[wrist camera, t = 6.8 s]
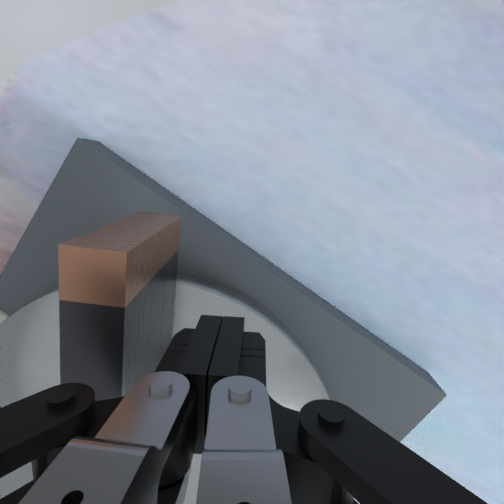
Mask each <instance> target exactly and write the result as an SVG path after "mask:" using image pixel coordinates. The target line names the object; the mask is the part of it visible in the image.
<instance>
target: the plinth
mask: <svg viewBox="0 0 504 504" xmlns="http://www.w3.org/2000/svg"><path fill="white" fill-rule="evenodd" d="M141 211H145V212H153V213H161V214H169V215H177V216H181V226H180V240H179V253H178V267H177V273H181V274H187V275H192V276H196V277H199V278H202V279H205V280H208V281H211V282H215V283H218V284H220V285H222V286H224V287H227V288H229V289H231V290H233V291H235V292H238V293H240V294H242V295H244V296H245V297H247V298H248V299H250V300H252V301H253V302H255V303H256V304H258V305H260V306H261V307H263V308H264V309H266V310H267V311H268V312H269V313H271V314H272V315H273V316H274V317H275V318H277V319H278V320H279V321H280V322H282V323H283V324H284V325H285V326H286V327H287V328H288V329H289V330H290V332H291V333H292V334H293V335H294V336H295V337H296V338H297V339H298V340H299V341H300V342H301V344H302V345H303V347H304V348H305V349H306V351H307V352H308V354H309V355H310V357H311V358H312V359H313V361H314V363H315V365H316V367H317V369H318V371H319V373H320V375H321V377H322V378H323V381H324V384H325V386H326V389H327V392H328V395H329V398H330V400H333V401H337V402H340V403H342V404H344V405H347V406H348V407H350V408H351V409H353V410H354V411H356V412H357V413H359V414H360V415H361V416H363V417H364V418H366V419H367V420H369V421H370V422H371V423H373V424H374V425H376V426H377V427H379V428H380V429H381V430H383V431H384V432H386V433H387V434H389V435H390V436H391V437H393V438H394V439H396V440H397V441H399V442H400V441H401V440H402V439H403V438H404V437H405V436H406V435H407V434H408V433H409V432H410V431H411V430H412V429H413V428H414V427H415V426H416V425H417V424H418V423H419V422H420V421H421V420H422V419H423V418H424V417H425V416H426V415H427V414H428V413H429V412H430V411H431V410H432V409H433V408H434V407H435V406H436V405H437V404H438V403H439V402H440V401H441V400H442V399H443V398H444V397H445V396H446V394H445V392H444V391H443V390H442V389H441V387H440V386H439V385H438V384H437V383H436V381H435V380H434V379H433V378H432V377H431V375H430V374H429V373H428V372H427V371H425V370H424V369H422V368H421V367H419V366H418V365H417V364H415V363H414V362H412V361H411V360H409V359H408V358H407V357H405V356H404V355H402V354H401V353H399V352H398V351H397V350H395V349H394V348H392V347H391V346H389V345H388V344H387V343H385V342H384V341H382V340H381V339H379V338H378V337H377V336H375V335H374V334H372V333H371V332H369V331H368V330H367V329H365V328H364V327H362V326H361V325H359V324H358V323H357V322H355V321H354V320H352V319H351V318H349V317H348V316H347V315H345V314H344V313H342V312H341V311H339V310H338V309H337V308H335V307H334V306H332V305H331V304H329V303H328V302H327V301H325V300H324V299H322V298H321V297H319V296H318V295H317V294H315V293H314V292H312V291H311V290H310V289H308V288H307V287H305V286H304V285H302V284H301V283H300V282H298V281H297V280H295V279H294V278H292V277H291V276H290V275H288V274H287V273H285V272H284V271H282V270H281V269H280V268H278V267H277V266H275V265H274V264H272V263H271V262H270V261H268V260H267V259H265V258H264V257H262V256H261V255H260V254H258V253H257V252H255V251H254V250H252V249H251V248H250V247H248V246H247V245H245V244H244V243H242V242H241V241H240V240H238V239H237V238H235V237H234V236H232V235H231V234H230V233H228V232H227V231H225V230H224V229H222V228H221V227H220V226H218V225H217V224H215V223H214V222H212V221H211V220H210V219H208V218H207V217H205V216H204V215H202V214H201V213H200V212H198V211H197V210H195V209H194V208H192V207H191V206H190V205H188V204H187V203H185V202H184V201H182V200H181V199H180V198H178V197H177V196H175V195H174V194H172V193H171V192H170V191H168V190H167V189H165V188H164V187H162V186H161V185H160V184H158V183H157V182H155V181H154V180H153V179H151V178H150V177H148V176H147V175H145V174H144V173H143V172H141V171H140V170H138V169H137V168H135V167H134V166H133V165H131V164H130V163H128V162H127V161H125V160H124V159H123V158H121V157H120V156H118V155H117V154H115V153H114V152H113V151H111V150H110V149H108V148H107V147H105V146H104V145H103V144H101V143H100V142H98V141H93V140H87V139H80V138H77V140H76V141H75V143H74V145H73V147H72V149H71V150H70V152H69V154H68V156H67V158H66V159H65V161H64V163H63V165H62V166H61V168H60V170H59V172H58V174H57V175H56V177H55V179H54V181H53V183H52V184H51V186H50V188H49V190H48V191H47V193H46V195H45V197H44V199H43V200H42V202H41V204H40V206H39V208H38V209H37V211H36V213H35V215H34V216H33V218H32V220H31V222H30V224H29V225H28V227H27V229H26V231H25V233H24V234H23V236H22V238H21V240H20V241H19V243H18V245H17V247H16V249H15V250H14V252H13V254H12V256H11V258H10V259H9V261H8V263H7V265H6V266H5V268H4V270H3V272H2V274H1V275H0V323H1V322H3V321H4V320H6V319H7V318H8V317H10V316H11V315H13V314H14V313H15V312H17V311H18V310H20V309H21V308H22V307H24V306H26V305H27V304H29V303H31V302H32V301H34V300H36V299H37V298H39V297H41V296H42V295H44V294H46V293H48V292H50V291H52V290H54V289H56V288H58V287H59V262H58V244H60V243H63V242H65V241H68V240H70V239H73V238H75V237H78V236H80V235H83V234H85V233H88V232H90V231H93V230H95V229H98V228H100V227H103V226H105V225H108V224H110V223H113V222H115V221H118V220H121V219H123V218H126V217H128V216H131V215H133V214H136V213H138V212H141Z"/></svg>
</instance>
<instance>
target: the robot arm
mask: <svg viewBox="0 0 504 504" xmlns="http://www.w3.org/2000/svg"><path fill="white" fill-rule="evenodd" d="M244 324H245V317H231V316H224V317H223V316H213V315H201V316H200V319H199V321H198V324H197V326H196V328H195V329H193V328H184V329H182V330H181V331H179V332H178V333H176V334H175V335H174V337H173V338H172V340H171V342H170V345H169V346H168V348H167V350H166V352H165V353H164V355H163V357H162V359H161V361H160V363H159V365H158V366H157V368H156V370H155V372H154V373H150V374H148V375H145V376H143V377H141V378H140V379H139V380H137V381H136V382H135V383H134V384H133V386H132V387H131V389H130V390H129V391H128V393H127V394H126V395H125V396H123V397H119V398H113V399H106V400H99V401H95V392H94V390H93V389H92V387H90V386H88V385H86V384H82V383H65V384H60V385H56V386H53V387H50V388H48V389H45V390H43V391H40V392H38V393H36V394H33V395H31V396H28V397H26V398H23V399H21V400H19V401H16V402H14V403H11V404H9V405H6V406H4V407H2V408H0V478H2V477H3V476H5V475H7V474H9V473H11V472H13V471H15V470H16V469H18V468H20V467H22V466H24V465H26V464H27V463H29V462H31V464H32V472H33V480H32V481H31V482H29V483H27V484H25V485H24V486H22V487H20V488H19V489H17V490H15V491H13V492H12V493H10V494H8V495H6V496H5V497H3V498H1V499H0V504H181V503H182V500H183V497H184V494H185V491H186V488H187V485H188V481H189V468H190V466H191V462H192V458H193V454H202V457H201V466H200V474H199V482H198V491H197V499H196V504H358V503H357V502H356V501H355V500H354V499H353V498H355V499H356V500H357V501H358V502H359V503H360V504H487V503H486V502H485V501H483V500H482V499H480V498H479V497H477V496H476V495H475V494H473V493H472V492H470V491H469V490H467V489H466V488H465V487H463V486H462V485H460V484H459V483H457V482H456V481H455V480H453V479H452V478H450V477H449V476H447V475H446V474H444V473H443V472H442V471H440V470H439V469H437V468H436V467H434V466H433V465H432V464H430V463H429V462H427V461H426V460H424V459H423V458H422V457H420V456H419V455H417V454H416V453H414V452H413V451H412V450H410V449H409V448H407V447H406V446H404V445H403V444H401V443H400V442H399V441H397V440H396V439H394V438H393V437H391V436H390V435H389V434H387V433H386V432H384V431H383V430H381V429H380V428H379V427H377V426H376V425H374V424H373V423H371V422H370V421H369V420H367V419H366V418H364V417H363V416H361V415H360V414H359V413H357V412H356V411H354V410H353V409H351V408H350V407H348V406H347V405H344V404H342V403H340V402H337V401H333V400H327V399H319V400H313V401H310V402H308V403H306V404H305V405H304V406H303V407H302V408H301V410H300V412H299V411H296V410H292V409H289V408H287V407H284V406H282V405H280V404H279V403H277V402H276V401H274V400H273V399H272V398H271V397H270V395H269V394H268V390H267V388H266V342H265V339H264V338H263V337H262V335H261V334H260V333H259V332H244Z"/></svg>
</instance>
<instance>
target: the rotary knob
mask: <svg viewBox="0 0 504 504" xmlns="http://www.w3.org/2000/svg"><path fill="white" fill-rule="evenodd" d="M180 226H181V216H177V215H169V214H161V213H153V212H145V211H141V212H138V213H136V214H133V215H131V216H128V217H126V218H123V219H121V220H118V221H115V222H113V223H110V224H108V225H105V226H103V227H100V228H98V229H95V230H93V231H90V232H88V233H85V234H83V235H80V236H78V237H75V238H73V239H70V240H68V241H65V242H63V243H60V244H58V262H59V287H58V288H56V289H54V290H52V291H50V292H48V293H46V294H44V295H42V296H41V297H39V298H37V299H36V300H34V301H32V302H31V303H29V304H27V305H26V306H24V307H22V308H21V309H20V310H18V311H17V312H15V313H14V314H13V315H11V316H10V317H8V318H7V319H6V320H4V321H3V322H1V323H0V408H2V407H4V406H6V405H9V404H11V403H14V402H16V401H19V400H21V399H23V398H26V397H28V396H31V395H33V394H36V393H38V392H40V391H43V390H45V389H48V388H50V387H53V386H56V385H60V384H65V383H82V384H86V385H88V386H90V387H92V389H93V390H94V392H95V401H99V400H106V399H113V398H119V397H123V396H125V395H126V394H127V393H128V391H129V390H130V389H131V387H132V386H133V384H134V383H135V382H136V381H137V380H139V379H140V378H141V377H143V376H145V375H148V374H150V373H154V372H155V370H156V368H157V366H158V365H159V363H160V361H161V359H162V357H163V355H164V353H165V352H166V350H167V348H168V346H169V345H170V342H171V340H172V338H173V337H174V335H175V334H176V333H178V332H179V331H181V330H182V329H184V328H193V329H195V328H196V326H197V324H198V321H199V319H200V316H201V315H213V316H223V317H224V316H231V317H245V324H244V332H259V333H260V334H261V335H262V337H263V338H264V339H265V342H266V388H267V390H268V394H269V395H270V397H271V398H272V399H273V400H274V401H276V402H277V403H279V404H280V405H282V406H284V407H287V408H289V409H292V410H296V411H299V412H300V410H301V408H302V407H303V406H304V405H305V404H306V403H308V402H310V401H313V400H319V399H327V400H330V398H329V395H328V392H327V389H326V386H325V384H324V381H323V378H322V377H321V375H320V373H319V371H318V369H317V367H316V365H315V363H314V361H313V359H312V358H311V357H310V355H309V354H308V352H307V351H306V349H305V348H304V347H303V345H302V344H301V342H300V341H299V340H298V339H297V338H296V337H295V336H294V335H293V334H292V333H291V332H290V330H289V329H288V328H287V327H286V326H285V325H284V324H283V323H282V322H280V321H279V320H278V319H277V318H275V317H274V316H273V315H272V314H271V313H269V312H268V311H267V310H266V309H264V308H263V307H261V306H260V305H258V304H256V303H255V302H253V301H252V300H250V299H248V298H247V297H245V296H244V295H242V294H240V293H238V292H235V291H233V290H231V289H229V288H227V287H224V286H222V285H220V284H218V283H215V282H211V281H208V280H205V279H202V278H199V277H196V276H192V275H187V274H181V273H177V267H178V253H179V240H180ZM201 457H202V454H193V458H192V462H191V466H190V468H189V481H188V485H187V488H186V491H185V494H184V497H183V500H182V503H181V504H196V499H197V491H198V482H199V474H200V466H201ZM32 480H33V472H32V464H31V462H29V463H27V464H26V465H24V466H22V467H20V468H18V469H16V470H15V471H13V472H11V473H9V474H7V475H5V476H3V477H2V478H0V499H1V498H3V497H5V496H6V495H8V494H10V493H12V492H13V491H15V490H17V489H19V488H20V487H22V486H24V485H25V484H27V483H29V482H31V481H32Z"/></svg>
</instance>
